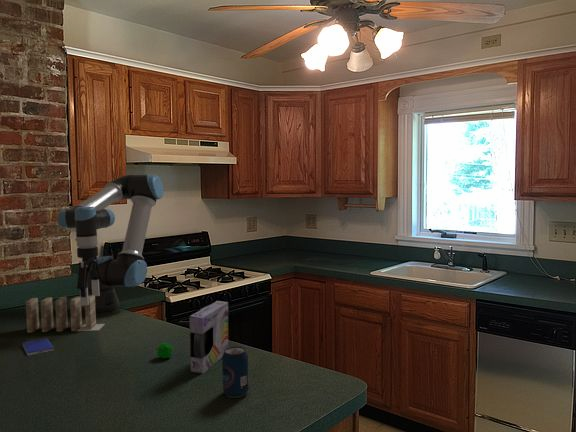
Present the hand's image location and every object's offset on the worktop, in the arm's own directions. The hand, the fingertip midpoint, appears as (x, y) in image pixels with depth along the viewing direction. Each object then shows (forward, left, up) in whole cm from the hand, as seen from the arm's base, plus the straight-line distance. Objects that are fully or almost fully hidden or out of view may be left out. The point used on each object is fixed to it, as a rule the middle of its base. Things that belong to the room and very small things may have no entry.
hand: (90, 300), depth 196 cm
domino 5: (0, 0, -11) cm, 11 cm away
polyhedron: (-35, +36, -11) cm, 52 cm away
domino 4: (+6, 0, -11) cm, 12 cm away
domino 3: (+11, 0, -11) cm, 16 cm away
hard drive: (+11, +22, -12) cm, 27 cm away
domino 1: (+22, 0, -11) cm, 25 cm away
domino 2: (+17, 0, -11) cm, 20 cm away
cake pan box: (-50, +42, -11) cm, 66 cm away
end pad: (0, 0, -11) cm, 11 cm away
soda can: (-59, +65, -11) cm, 89 cm away
